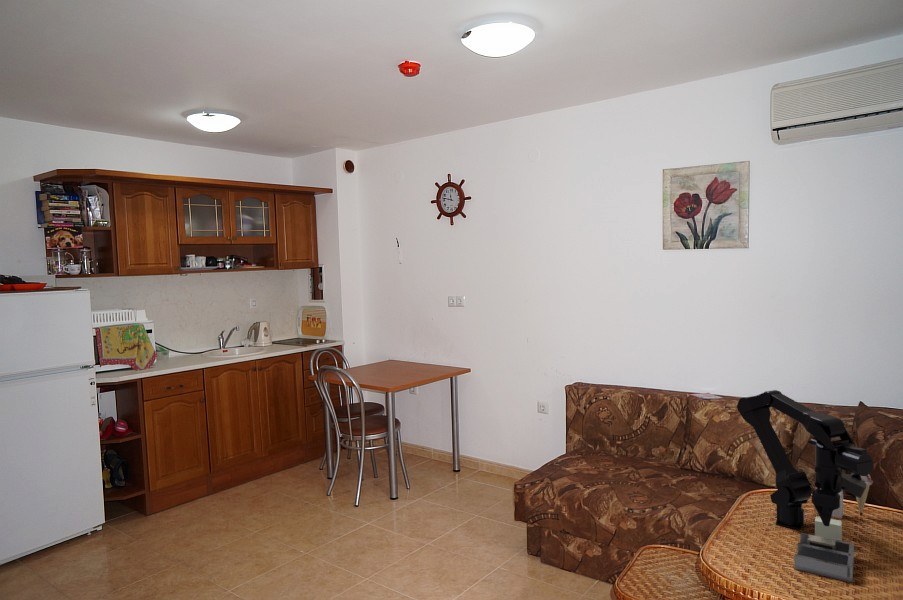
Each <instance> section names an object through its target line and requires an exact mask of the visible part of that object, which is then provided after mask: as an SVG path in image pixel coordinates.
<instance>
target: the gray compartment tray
mask: <svg viewBox="0 0 903 600" xmlns="http://www.w3.org/2000/svg"><path fill="white" fill-rule="evenodd" d="M796 545H797V546H796V547H797V549H796V550H797V551H796V552H797V553H795V554H794V556H793V557H794V565H793V566H794V570H797V571H801V572H806V573H810V574H813V575H818V576H822V577H827V578H831V579H835V580H839V581H843V582H849V583H853V578H854V577H853V576H854V565H855V543H853V542H847V541H843V540H842V541H839V540H834V539H830V538H825V537H820V536H815V534H808V533H804V532H800V534H799V542H797V543H796Z"/></svg>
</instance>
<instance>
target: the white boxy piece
mask: <svg viewBox="0 0 903 600" xmlns="http://www.w3.org/2000/svg"><path fill="white" fill-rule="evenodd" d="M816 489H817V487H815V486H814V490H816ZM838 494H839V495H840V508H838V509H835V510H833V512H832V516H831V518H834V519H837V520H841V519H842V518H843V516H844V490H843V489H842V491H841V492H840V493H838ZM813 506H814V505H813ZM814 514H818V512H817V510H816V508H815V506H814ZM818 515H819V514H818Z"/></svg>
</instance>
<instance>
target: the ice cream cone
mask: <svg viewBox="0 0 903 600" xmlns="http://www.w3.org/2000/svg"><path fill="white" fill-rule="evenodd" d="M861 479H862V481H865V483H866V489H865V491H864V493H863V495H862V497H861V498H859V497H856V496H855V498H856V503H857V507H858V510H859V515H860V517H862V516H863V513H864V512H863V511H864V509H865V504H866V502H867V498H868V493H869V490H870V486H872V485H873V484H874V481H873V479H872V478H871V475H870V473H869V474H868V475H867V476H861Z"/></svg>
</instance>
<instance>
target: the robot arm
mask: <svg viewBox="0 0 903 600" xmlns="http://www.w3.org/2000/svg"><path fill="white" fill-rule="evenodd" d="M736 408H737V411H738V413H739V414H740V415H741V417H742V419H743V420H744V421H745V422H746V423H748V424H749V425H750V426H751V427H753V429H754V431H755V433H756V435H757V437H758V439H759V441H760V443H761V446H762V448H763V450H764V451H765V453H766V455H767V457H768V459H769V461H770V463H771V465H772V468H773V470H774V471H775V484H774V485H775V487H776V489H777V490H774V492H773V493H771V494H770V495H769V497H770V500H771V501H770V502H771V503H772V504H775V505H776V520H775V525H776V526H780V527H785V528H790V529H795V530H801V531H802V527H803V526H804V525H805V520H806V519H805V517H806V516H805V508H803V504H807V503H808V502H809V500H810V499H811V503H812V505H813V506H815V507H814V509H815V508H816V510H817V512H818V516H819V517H820V518H821V520H822V522H823V524H824V526H829V524H830V520H831V519H832V517H831V516H832V512H833V510H835V509H838V508H840V495H839V494H838V493H840V492H841V491H842V490H843V491H845V492H847V493H849V494H852V495H854V496H855V498H856V497H859V498H861V497H862V495H863V493H864V491H865V489H866V483H865V481H862V479H861V476H867V475H868V474H869V475H870V473H871V472H872V471H873V467H874V461H873V458H872V456H871V455H870V454H868V449H866V448H862V447H858V446H855V442H854V439H853V438H852V437H851V435H850V433H849V432H848V430H847V428H846V427H845V424H844V422H843V420H842V419H841V418H839V417H836V416H834V415H831V414H827V413H823V412H818V411H815V410H812V409H810V408H809V407H807V406H805V405H804V404H802V403H800V402H798V401H796V400H794V399H793V398H790V397H789V396H787V395H785V394H783V392H781V391H780V390H777V389H773V390H767V391H764V392H762V393H759V394H757V395H751V396H747V397H741V398H739V400H738V402H737V405H736ZM770 408H774V409H775V410H777V411H779V412H780V413H782V414H784V415H786V416H787V417H789V418H791V419H793V420H795V421H796V422H798V423H800V424H801V425H802V426H804V428H805V431H806V432H807V433H808V434H810V435H811V436H812V437H813V438H810V439H809V440H808V441H807V442H808V444H810V445H813V446H815V465H814V472H815V474H814V475H815V478H814V488H815V487H817V489H816V490H815V489H814V490H813V489H812V485H813V484H812V483H811V482H810V480H809V479H808V477H807V474H806V472H805V471H798V470H797V469H796V468H795V467H794V466H793V464H792V462H791V460H790V458H789V456H788V454H787V452H786V451H785V449H784V446H783V444H782V443H781V441H780V438H779V437H778V435H777V433H776V431H775V429H774V427H773V425H772V423H771V410H770ZM836 439H837V440H836ZM832 440H833V441H832ZM843 471H847V472H849V473H845V472H843Z"/></svg>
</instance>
